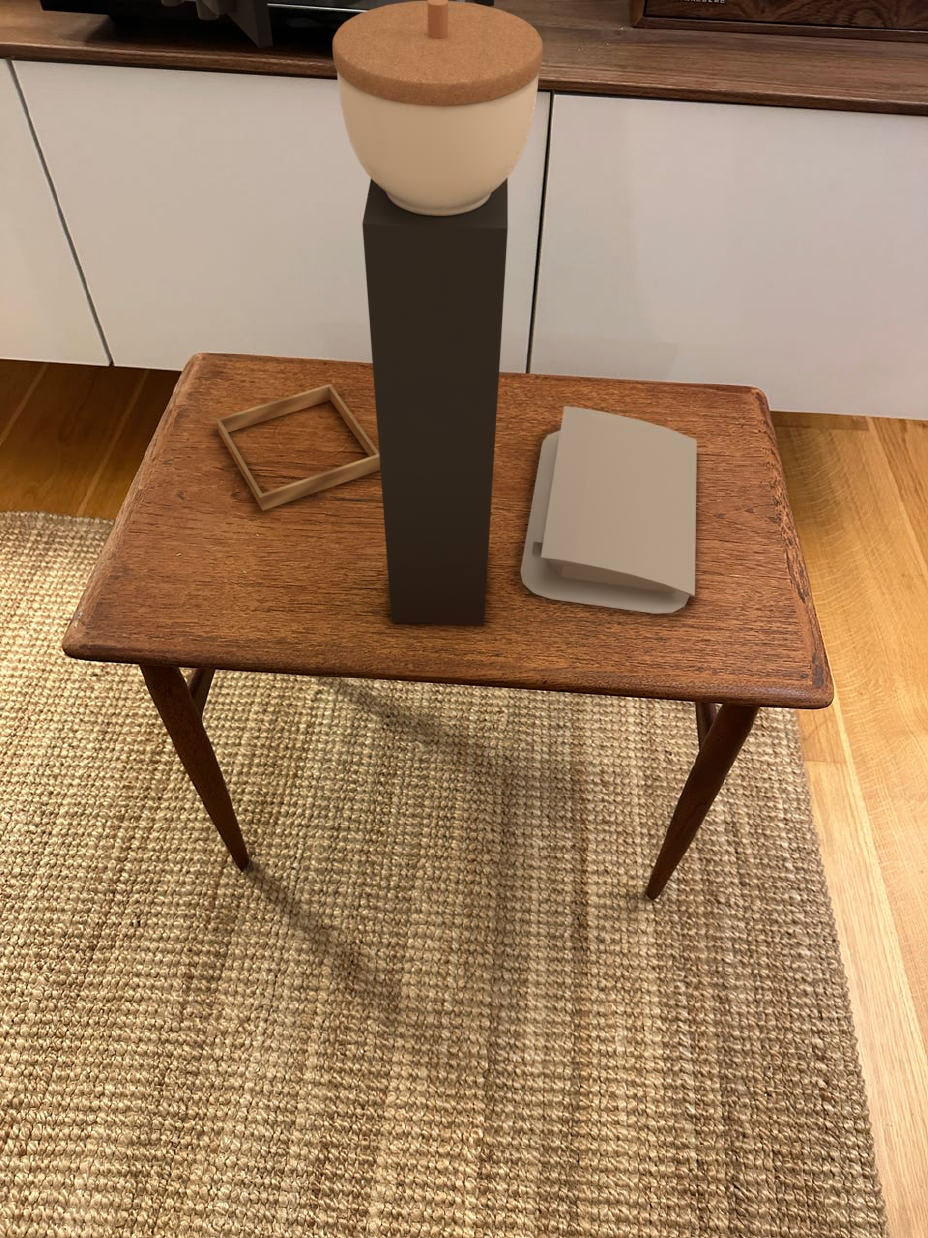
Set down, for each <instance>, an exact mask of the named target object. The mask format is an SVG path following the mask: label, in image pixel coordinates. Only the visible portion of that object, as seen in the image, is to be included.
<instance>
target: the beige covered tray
mask: <svg viewBox="0 0 928 1238" xmlns="http://www.w3.org/2000/svg"><path fill="white" fill-rule="evenodd" d="M697 458H698V439H696V438H693V437H690V436H689V435H686V434H684V433H681V432H680V431H679V432H678V431H676V430H675V429H672V428H670V427H669V428H668V427H665V426H662V425H659V424H655V423H652V422H648V421H645V420H642V419H637V418H632V417H629V416H624V415H621V414H615V413H610V412H605V411H599V410H595V409H589V408H584V407H577V406H576V407H575V406H568V405H563V411H562V418H561V423H560V429H559V430H557V431H554V432H551V433H550V434H547V435H546V437H545V438H544V440H543V441H542V444H541V448H540V454H539V460H538V466H537V470H536V471H537V472H536V476H535V477H536V478H535V484H534V490H533V495H532V501H531V507H530V514H529V517H528V525H527V531H526V537H525V542H524V548H523V554H522V558H521V559H522V560H521V565H520V571H519V573H520V576H521V582H522V585H524V587H526V588H527V589H528V590H529V591H530V592H531V593H533V594H534V595H537V596H540V597H543V598H546V599H549V600H552V601H553V600H554V601H559V602H560V601H562V602H569V603H575V604H581V605H583V604H584V605H589V606H597V607H602V608H609V609H610V608H611V609H618V610H625V611H632V612H639V613H646V614H653V615H656V614H657V615H658V614H659V615H660V614H661V615H662V614H673V613H675V612H677V611H679V610H681V609H682V608H684V607H685V606H686V605H687V602H688V600H689V597H690V596H692V597H695V596H696V545H697V543H696V539H697V538H696V537H697V534H696V533H697V532H696V531H697V465H698V464H697Z"/></svg>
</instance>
